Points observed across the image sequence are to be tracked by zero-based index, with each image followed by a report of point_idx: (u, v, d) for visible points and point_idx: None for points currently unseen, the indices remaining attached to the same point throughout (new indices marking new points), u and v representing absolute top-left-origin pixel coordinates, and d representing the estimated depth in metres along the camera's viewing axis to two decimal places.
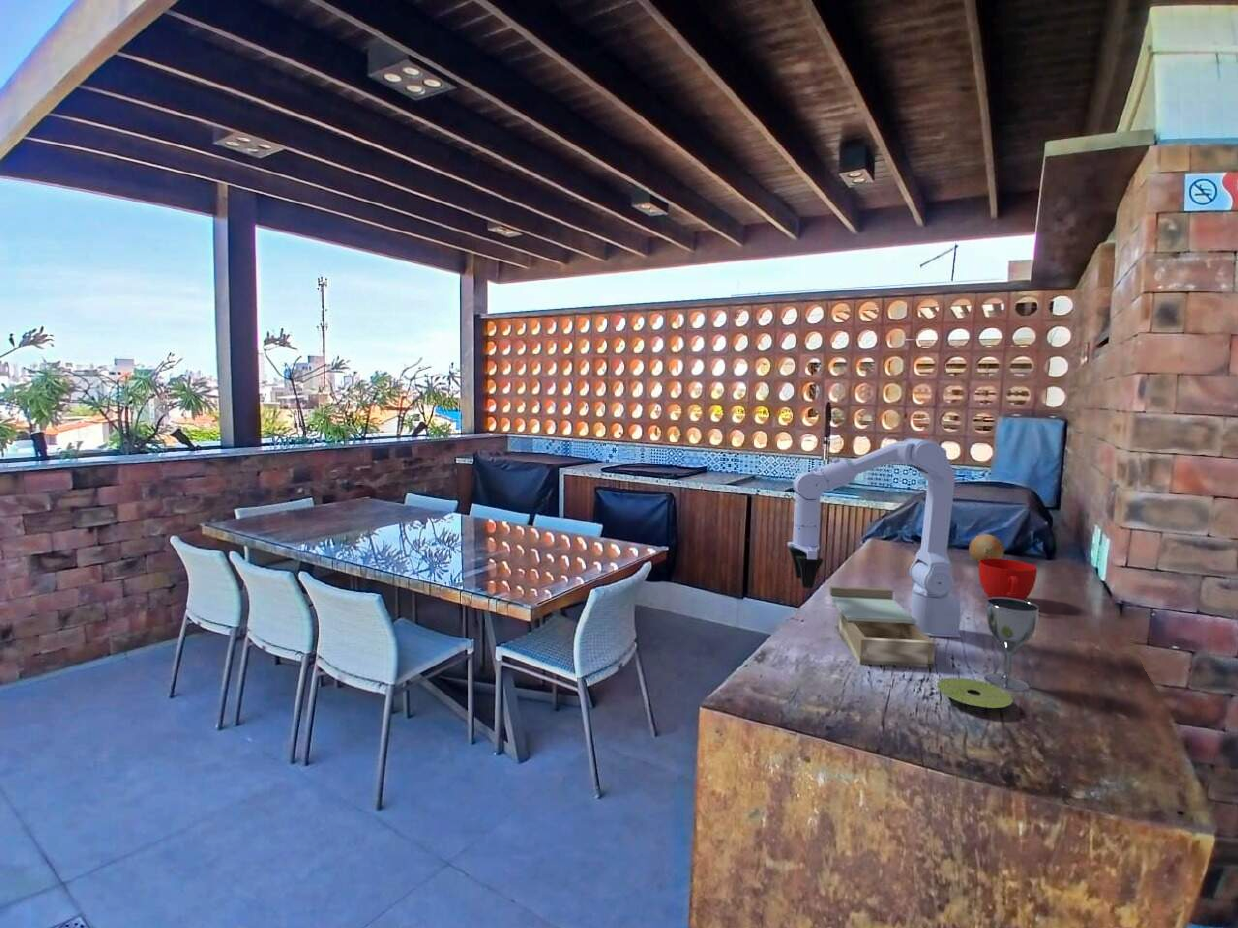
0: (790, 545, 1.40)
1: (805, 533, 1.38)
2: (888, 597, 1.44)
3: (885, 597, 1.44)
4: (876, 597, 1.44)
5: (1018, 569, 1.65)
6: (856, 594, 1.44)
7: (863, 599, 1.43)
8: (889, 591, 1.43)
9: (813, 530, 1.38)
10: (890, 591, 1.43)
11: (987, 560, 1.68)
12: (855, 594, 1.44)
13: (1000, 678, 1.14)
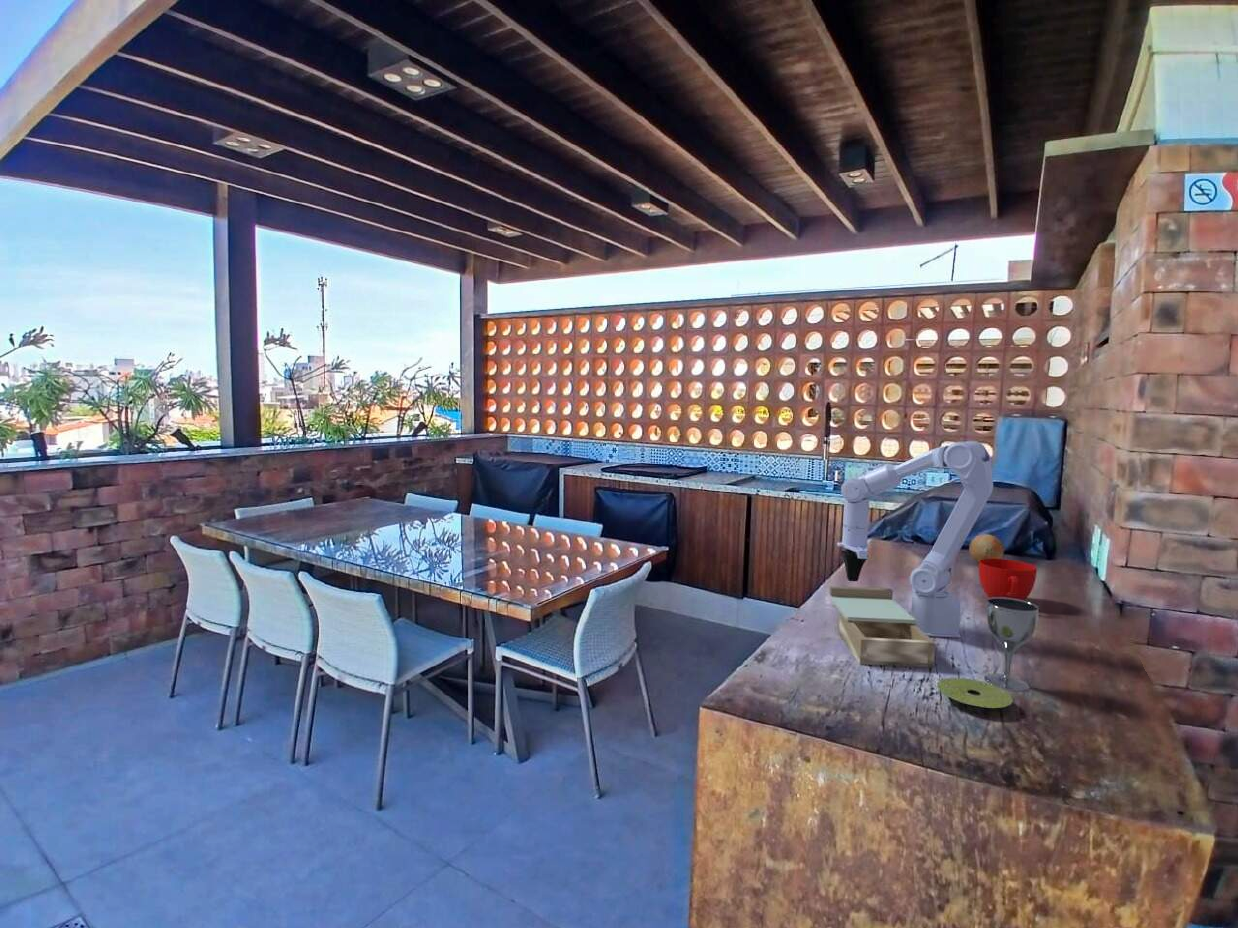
0: (840, 545, 1.50)
1: (855, 534, 1.48)
2: (888, 597, 1.44)
3: (885, 597, 1.44)
4: (876, 597, 1.44)
5: (1018, 569, 1.65)
6: (856, 594, 1.44)
7: (863, 599, 1.43)
8: (889, 591, 1.43)
9: (862, 531, 1.48)
10: (890, 591, 1.43)
11: (987, 560, 1.68)
12: (855, 594, 1.44)
13: (1000, 678, 1.14)
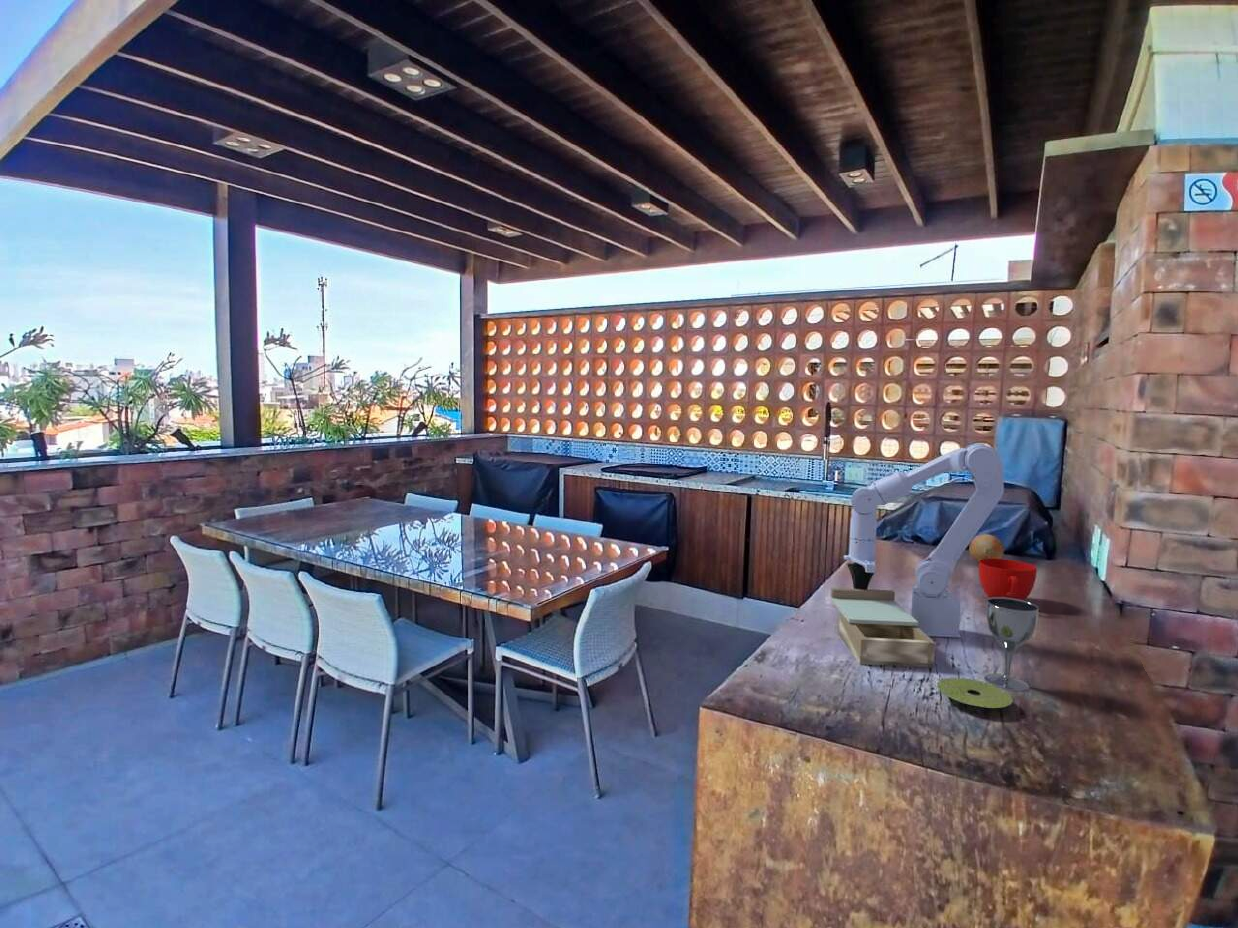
0: (847, 558, 1.44)
1: (862, 546, 1.42)
2: (890, 599, 1.42)
3: (887, 599, 1.42)
4: (878, 599, 1.42)
5: (1018, 569, 1.65)
6: (858, 596, 1.43)
7: (865, 601, 1.41)
8: (891, 593, 1.42)
9: (870, 544, 1.42)
10: (892, 593, 1.42)
11: (987, 560, 1.68)
12: (857, 596, 1.43)
13: (1000, 678, 1.14)
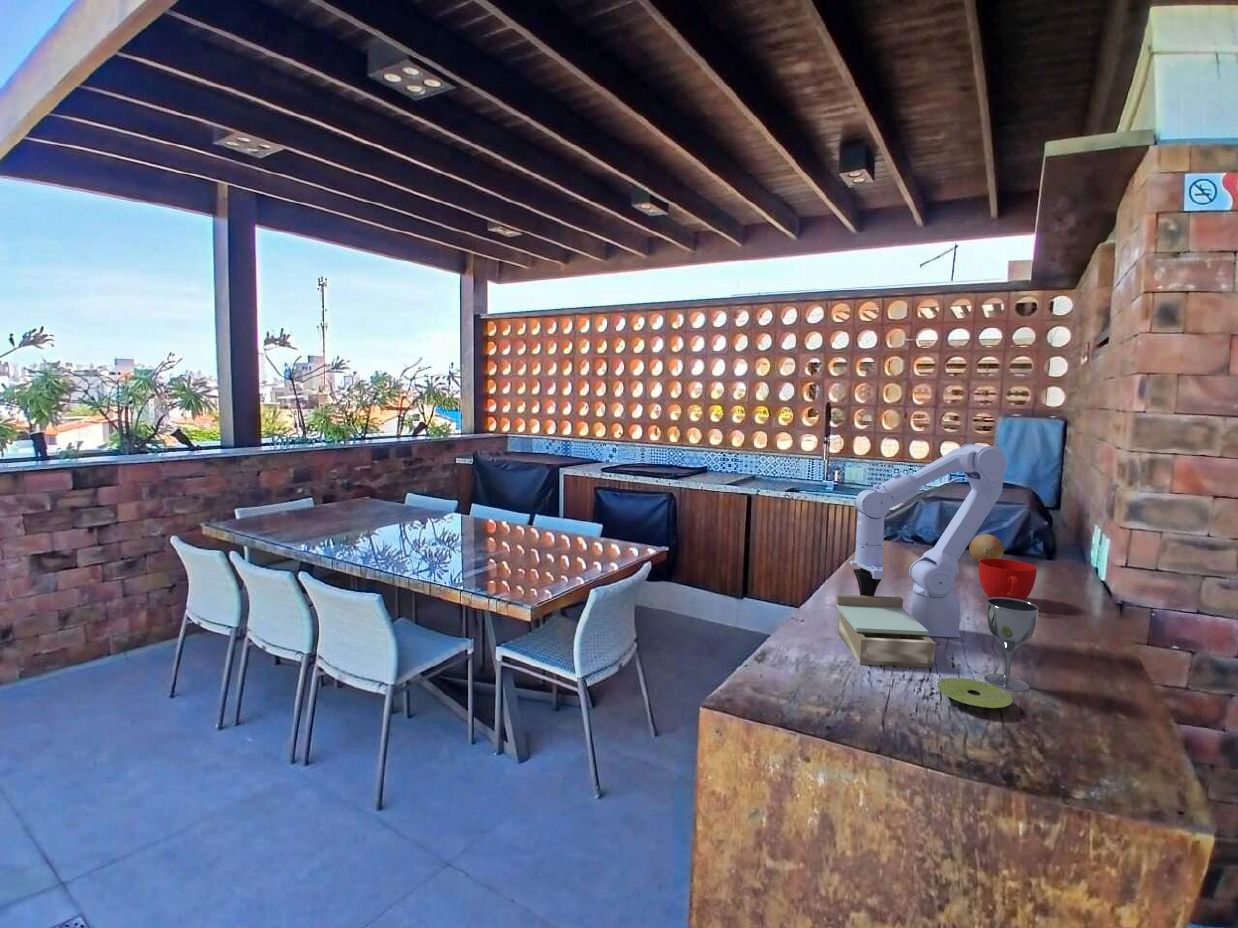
0: (853, 564, 1.39)
1: (869, 552, 1.37)
2: (898, 606, 1.37)
3: (895, 606, 1.37)
4: (885, 606, 1.37)
5: (1018, 569, 1.65)
6: (865, 603, 1.38)
7: (872, 608, 1.36)
8: (899, 600, 1.37)
9: (877, 549, 1.36)
10: (900, 600, 1.37)
11: (987, 560, 1.68)
12: (863, 603, 1.38)
13: (1000, 678, 1.14)
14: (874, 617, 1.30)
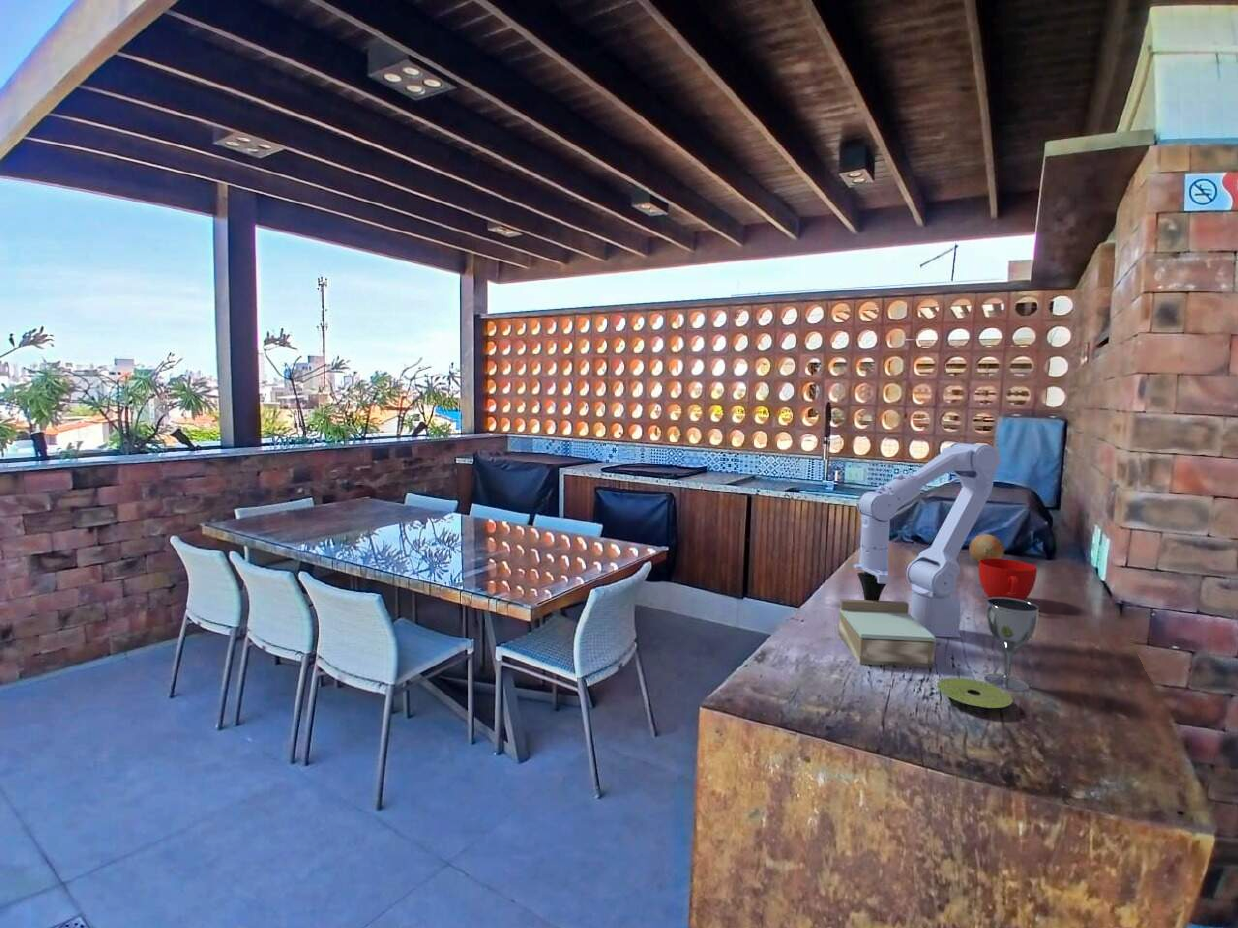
0: (857, 568, 1.36)
1: (874, 555, 1.33)
2: (904, 611, 1.34)
3: (900, 611, 1.34)
4: (891, 611, 1.34)
5: (1018, 569, 1.65)
6: (869, 608, 1.34)
7: (877, 613, 1.33)
8: (905, 605, 1.33)
9: (882, 552, 1.33)
10: (906, 605, 1.33)
11: (987, 560, 1.68)
12: (868, 608, 1.34)
13: (1000, 678, 1.14)
14: (879, 623, 1.27)
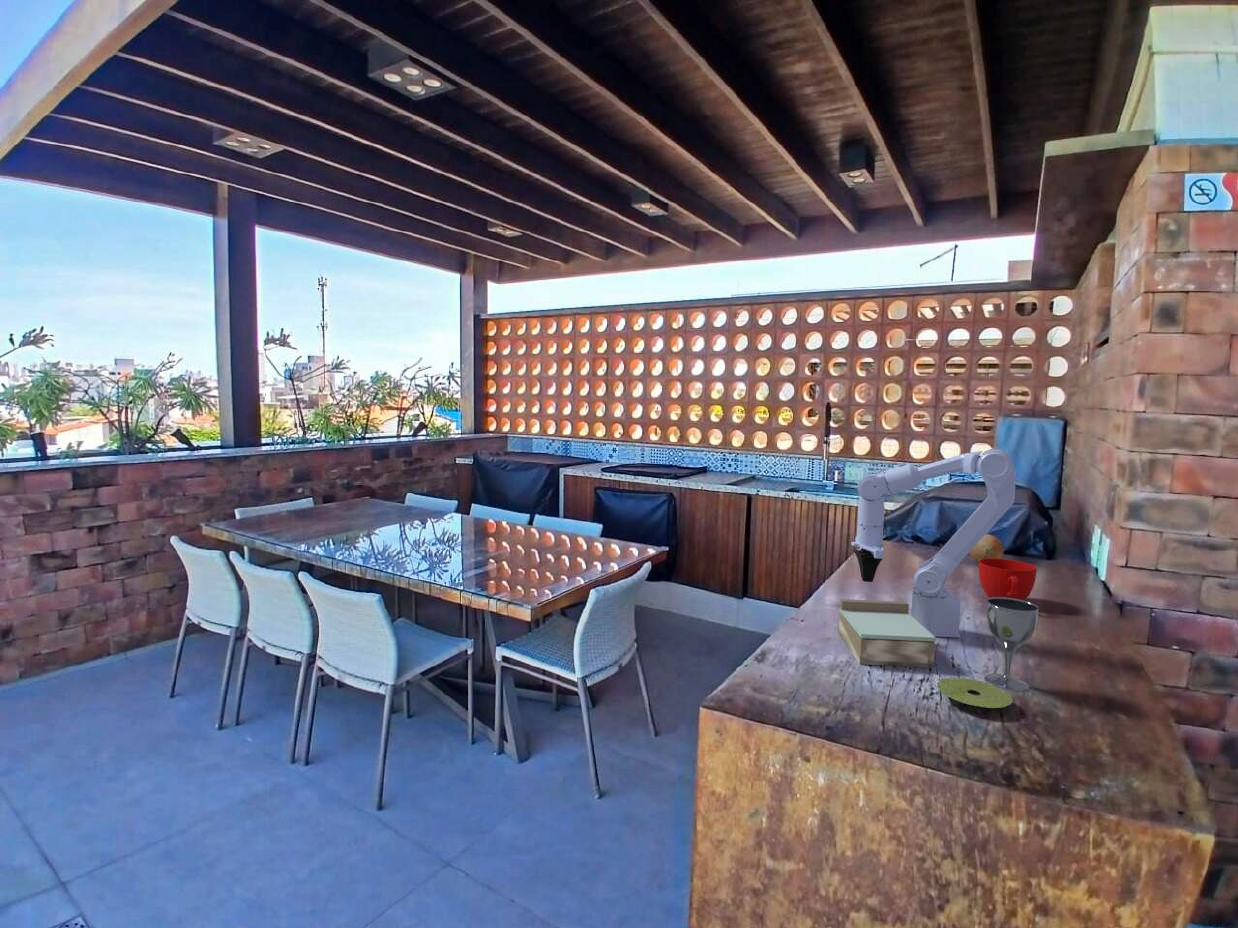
0: (854, 545, 1.45)
1: (870, 533, 1.42)
2: (904, 611, 1.34)
3: (900, 611, 1.34)
4: (891, 611, 1.34)
5: (1018, 569, 1.65)
6: (869, 608, 1.34)
7: (877, 613, 1.33)
8: (905, 605, 1.33)
9: (878, 530, 1.42)
10: (906, 605, 1.33)
11: (987, 560, 1.68)
12: (868, 608, 1.34)
13: (1000, 678, 1.14)
14: (879, 623, 1.27)
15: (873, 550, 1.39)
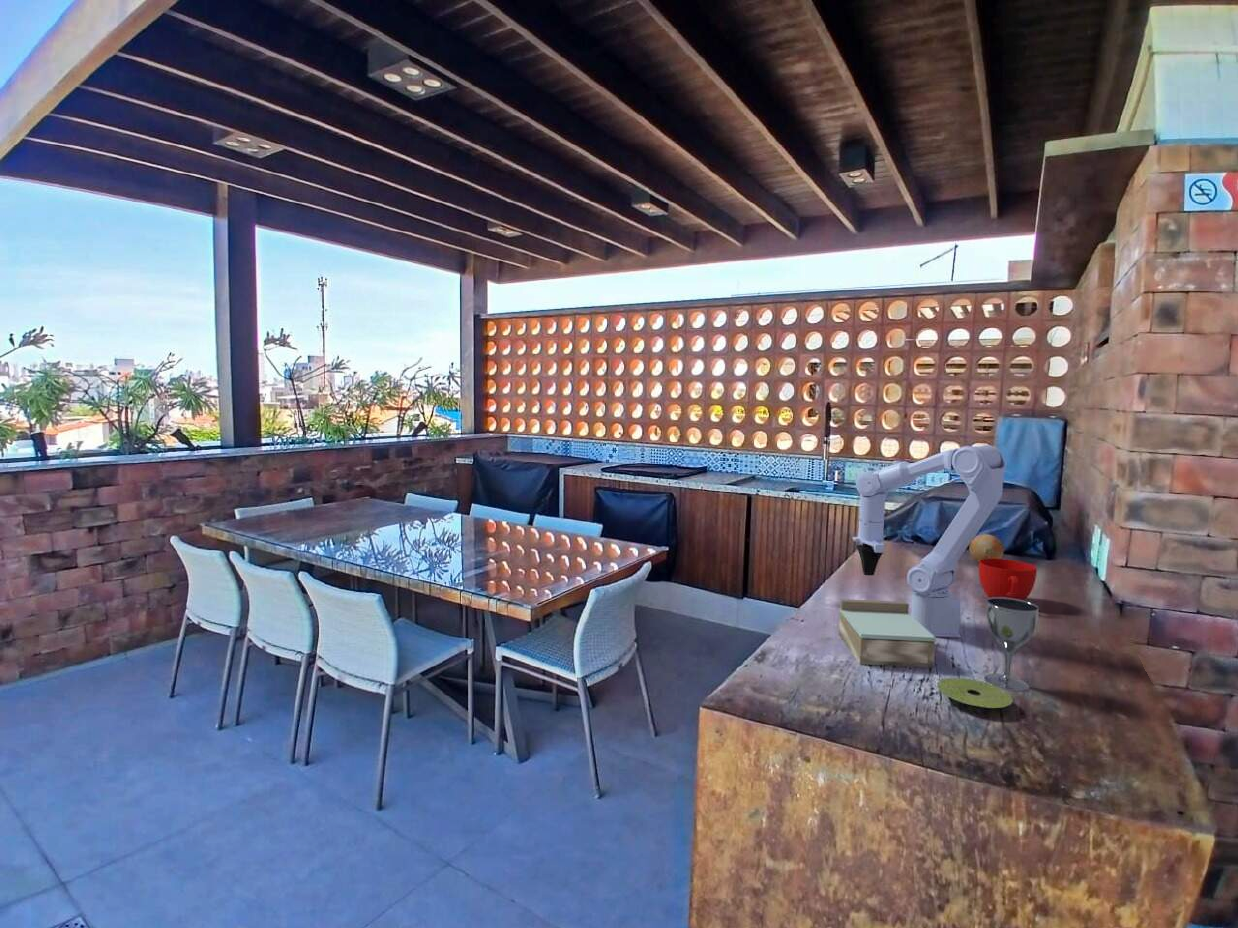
0: (856, 540, 1.51)
1: (871, 528, 1.48)
2: (904, 611, 1.34)
3: (900, 611, 1.34)
4: (891, 611, 1.34)
5: (1018, 569, 1.65)
6: (869, 608, 1.34)
7: (877, 613, 1.33)
8: (905, 605, 1.33)
9: (878, 525, 1.48)
10: (906, 605, 1.33)
11: (987, 560, 1.68)
12: (868, 608, 1.34)
13: (1000, 678, 1.14)
14: (879, 623, 1.27)
15: (873, 544, 1.45)
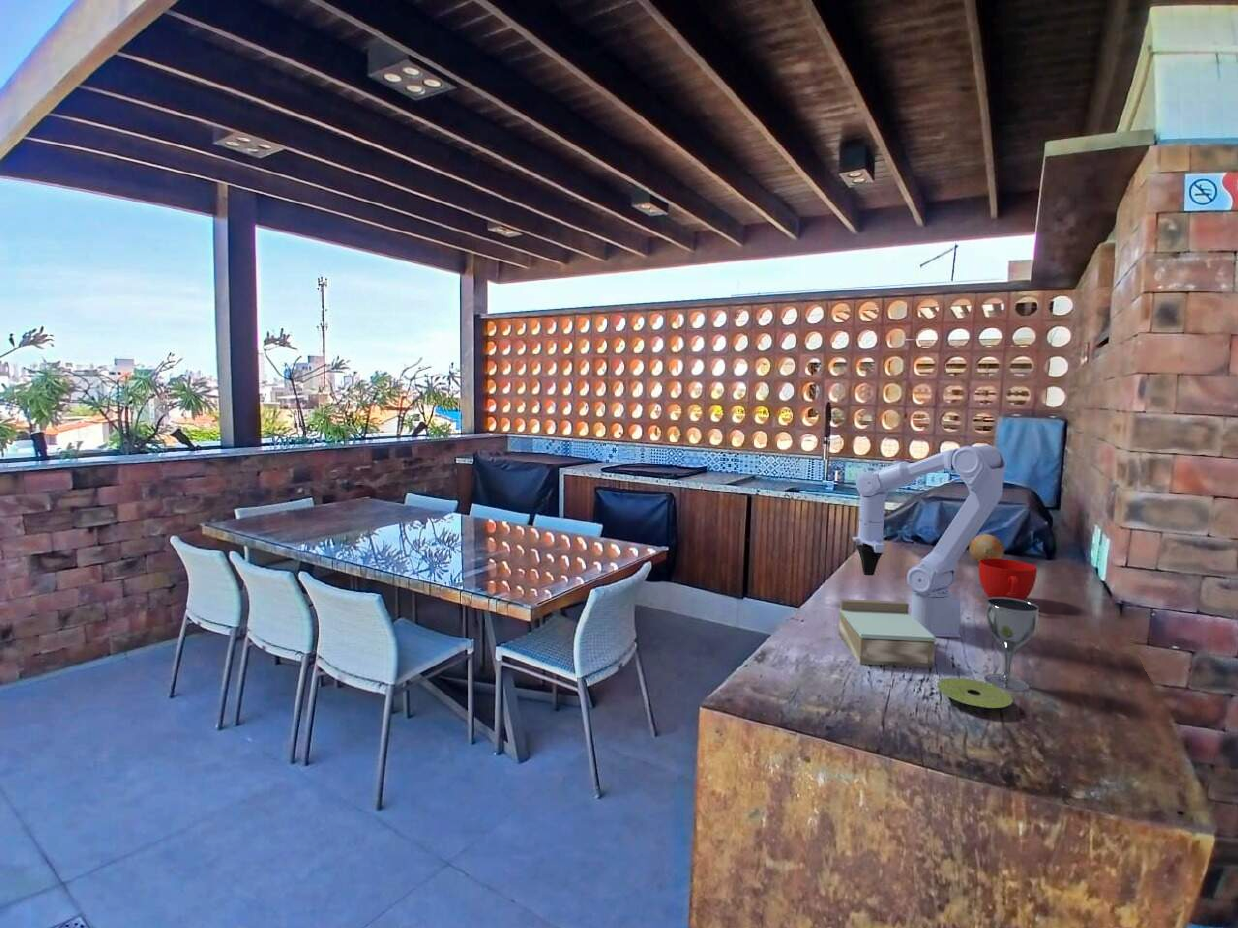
0: (856, 540, 1.51)
1: (871, 528, 1.48)
2: (904, 611, 1.34)
3: (900, 611, 1.34)
4: (891, 611, 1.34)
5: (1018, 569, 1.65)
6: (869, 608, 1.34)
7: (877, 613, 1.33)
8: (905, 605, 1.33)
9: (878, 525, 1.48)
10: (906, 605, 1.33)
11: (987, 560, 1.68)
12: (868, 608, 1.34)
13: (1000, 678, 1.14)
14: (879, 623, 1.27)
15: (873, 544, 1.45)
